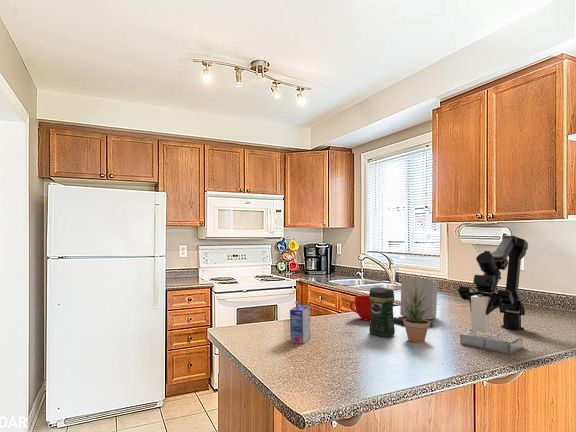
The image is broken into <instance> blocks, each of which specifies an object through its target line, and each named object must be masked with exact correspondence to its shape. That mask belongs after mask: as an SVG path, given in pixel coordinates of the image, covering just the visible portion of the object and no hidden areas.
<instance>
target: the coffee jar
mask: <svg viewBox="0 0 576 432" xmlns="http://www.w3.org/2000/svg"><path fill="white" fill-rule="evenodd" d="M368 296H369V299H370V303H371V313H370V321H369V331H368V332H369V333H370V334H371V335H374V336H377V337H383V338H384V337H388V338H389V337H392V336H394V335H395V332H396V330H395V329H396V328H395V323H394V302H395V293H394V290H393V289H392V288H385V287H379V286H378V287H372V288H370V290H369V295H368Z"/></svg>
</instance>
